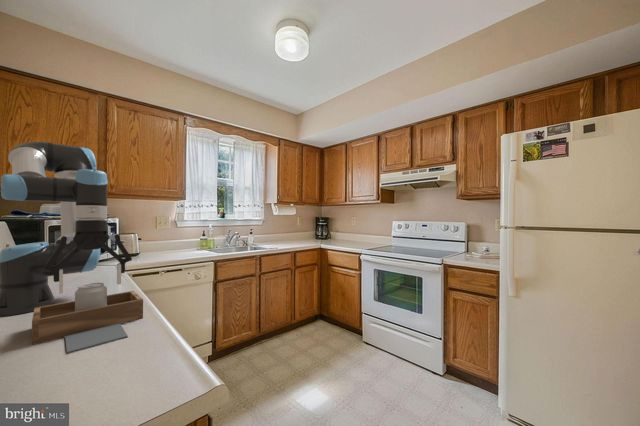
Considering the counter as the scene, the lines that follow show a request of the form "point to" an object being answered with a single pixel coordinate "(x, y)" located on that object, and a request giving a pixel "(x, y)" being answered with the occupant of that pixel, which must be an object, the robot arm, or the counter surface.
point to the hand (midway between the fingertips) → (91, 287)
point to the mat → (94, 337)
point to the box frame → (84, 316)
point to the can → (90, 296)
